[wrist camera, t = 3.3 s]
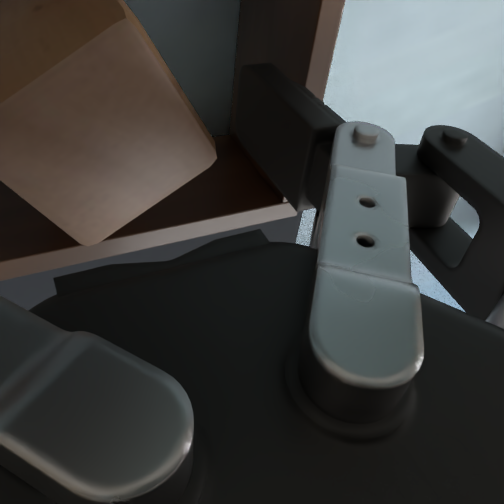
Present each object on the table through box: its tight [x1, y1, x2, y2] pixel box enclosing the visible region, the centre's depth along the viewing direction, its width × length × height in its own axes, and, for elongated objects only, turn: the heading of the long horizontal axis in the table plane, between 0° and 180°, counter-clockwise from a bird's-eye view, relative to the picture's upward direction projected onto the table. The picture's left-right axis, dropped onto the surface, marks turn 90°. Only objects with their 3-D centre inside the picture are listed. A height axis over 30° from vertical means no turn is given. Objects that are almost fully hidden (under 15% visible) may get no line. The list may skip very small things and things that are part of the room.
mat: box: [0, 211, 303, 311], centre depth 24 cm, size 12×22×1 cm, turn 83°
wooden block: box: [0, 0, 217, 246], centre depth 12 cm, size 4×4×8 cm
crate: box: [0, 0, 345, 281], centre depth 13 cm, size 12×15×5 cm
